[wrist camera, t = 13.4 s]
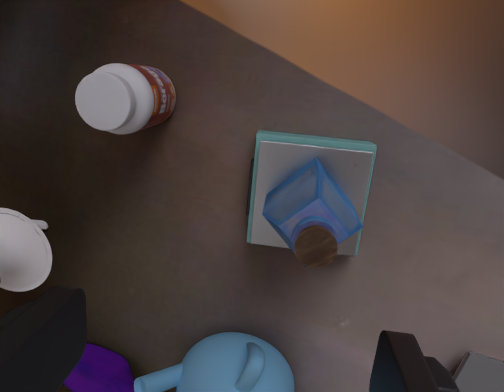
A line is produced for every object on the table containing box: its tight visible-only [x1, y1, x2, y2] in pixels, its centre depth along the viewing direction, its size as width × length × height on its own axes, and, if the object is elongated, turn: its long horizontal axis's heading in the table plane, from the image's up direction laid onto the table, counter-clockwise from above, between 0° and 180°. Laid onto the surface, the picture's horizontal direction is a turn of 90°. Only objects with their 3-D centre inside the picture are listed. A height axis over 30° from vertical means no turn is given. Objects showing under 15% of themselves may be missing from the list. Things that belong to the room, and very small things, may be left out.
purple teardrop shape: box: [63, 343, 135, 392], centre depth 52 cm, size 5×5×15 cm
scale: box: [246, 130, 377, 256], centre depth 43 cm, size 12×12×3 cm
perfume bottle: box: [262, 158, 363, 268], centre depth 35 cm, size 6×6×12 cm
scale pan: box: [250, 140, 373, 256], centre depth 41 cm, size 11×11×1 cm
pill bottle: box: [75, 63, 176, 134], centre depth 38 cm, size 6×6×11 cm
